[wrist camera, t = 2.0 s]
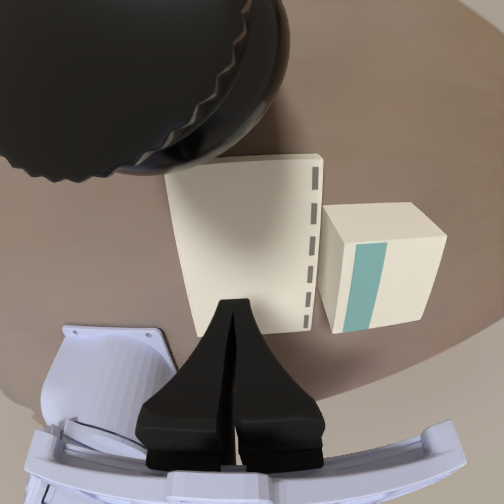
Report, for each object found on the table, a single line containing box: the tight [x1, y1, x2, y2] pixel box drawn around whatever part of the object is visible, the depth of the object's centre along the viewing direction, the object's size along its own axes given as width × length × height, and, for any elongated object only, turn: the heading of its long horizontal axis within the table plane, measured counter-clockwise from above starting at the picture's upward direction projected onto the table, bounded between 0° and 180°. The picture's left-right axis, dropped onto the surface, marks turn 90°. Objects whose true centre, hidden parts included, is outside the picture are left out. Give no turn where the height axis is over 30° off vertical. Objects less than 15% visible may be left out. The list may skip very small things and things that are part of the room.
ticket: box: [164, 154, 323, 337], centre depth 18 cm, size 8×12×1 cm, turn 3°
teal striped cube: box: [318, 202, 447, 334], centre depth 17 cm, size 6×6×5 cm
